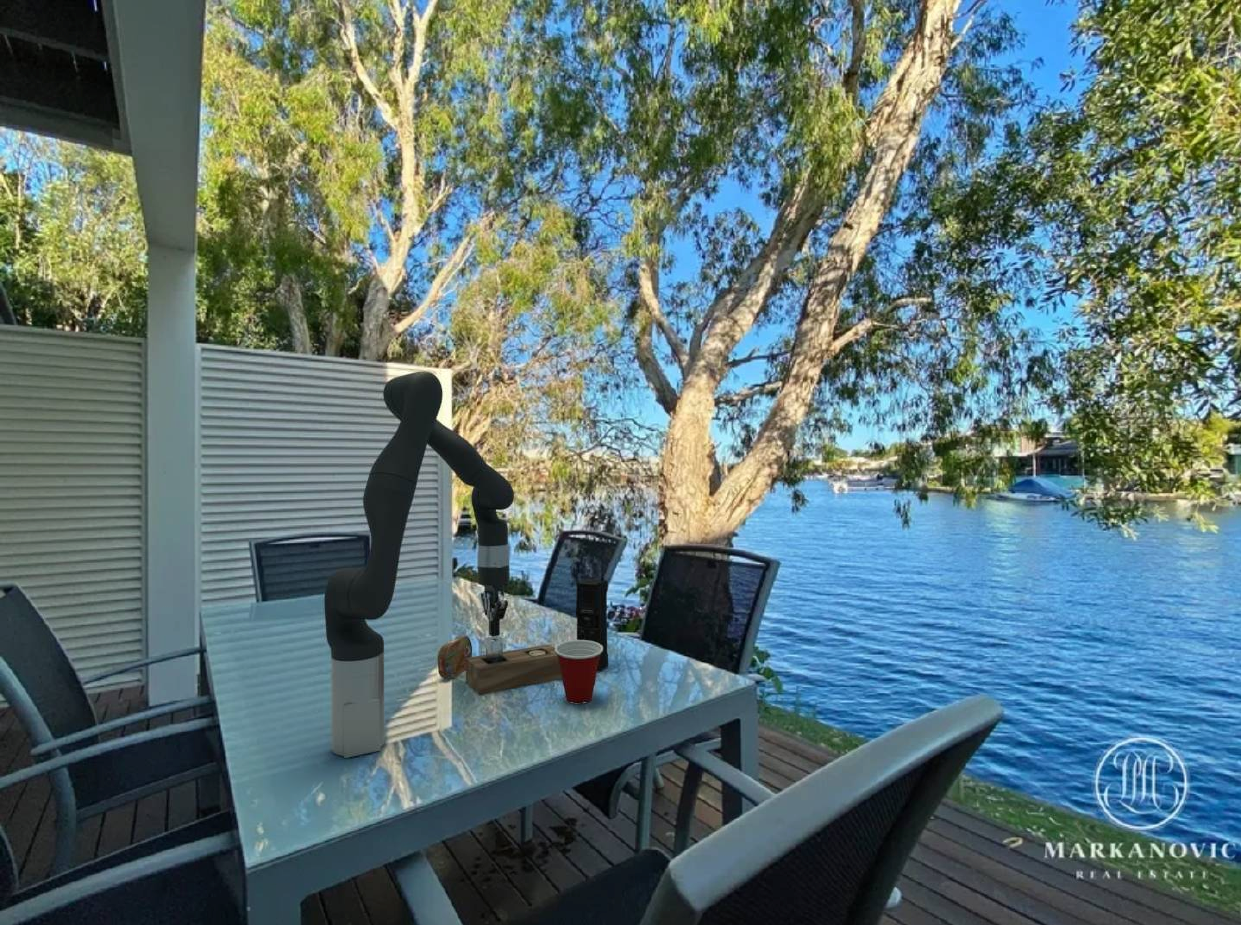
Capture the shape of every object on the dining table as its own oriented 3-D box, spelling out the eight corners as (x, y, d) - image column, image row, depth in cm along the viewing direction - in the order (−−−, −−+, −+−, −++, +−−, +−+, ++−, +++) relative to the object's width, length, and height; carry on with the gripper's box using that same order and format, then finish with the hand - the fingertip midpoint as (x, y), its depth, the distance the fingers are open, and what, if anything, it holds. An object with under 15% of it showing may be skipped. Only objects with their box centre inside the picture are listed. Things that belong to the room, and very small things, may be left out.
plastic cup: (559, 711, 137) (559, 655, 137) (551, 694, 148) (550, 641, 148) (609, 706, 140) (608, 650, 140) (597, 689, 150) (597, 638, 151)
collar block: (566, 678, 159) (565, 653, 159) (479, 695, 147) (479, 668, 148) (549, 667, 167) (548, 644, 167) (465, 682, 156) (465, 657, 156)
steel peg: (505, 662, 154) (505, 639, 154) (489, 665, 152) (489, 641, 152) (499, 658, 157) (499, 635, 157) (483, 660, 155) (483, 637, 155)
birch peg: (547, 675, 160) (547, 653, 160) (532, 678, 157) (532, 655, 158) (541, 671, 163) (541, 649, 163) (526, 673, 161) (526, 651, 161)
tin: (447, 683, 156) (446, 648, 156) (435, 682, 157) (434, 647, 157) (473, 664, 171) (473, 632, 171) (462, 663, 171) (462, 632, 172)
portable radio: (571, 668, 166) (570, 571, 166) (583, 662, 171) (582, 568, 171) (598, 673, 162) (597, 573, 162) (609, 666, 168) (608, 570, 168)
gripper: (469, 561, 159) (470, 631, 158) (487, 568, 147) (488, 644, 147) (498, 558, 162) (499, 627, 162) (518, 565, 151) (519, 639, 151)
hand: (494, 635), depth 155 cm, fingers closed
